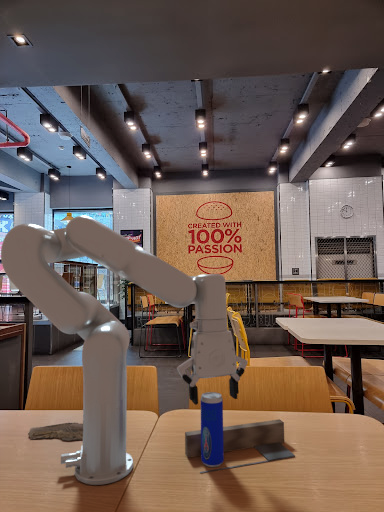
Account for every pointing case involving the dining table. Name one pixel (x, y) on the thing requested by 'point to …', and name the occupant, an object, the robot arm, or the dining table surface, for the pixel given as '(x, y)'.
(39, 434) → the wooden fragment
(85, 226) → the robot arm
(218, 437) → the beverage can
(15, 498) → the dining table surface
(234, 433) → the guide fence
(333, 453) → the dining table surface
